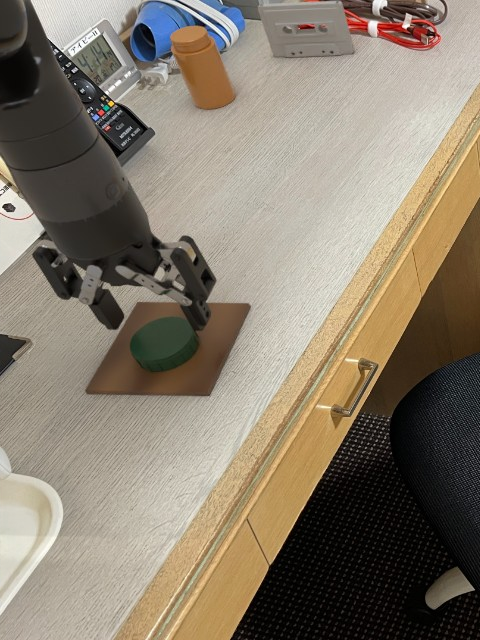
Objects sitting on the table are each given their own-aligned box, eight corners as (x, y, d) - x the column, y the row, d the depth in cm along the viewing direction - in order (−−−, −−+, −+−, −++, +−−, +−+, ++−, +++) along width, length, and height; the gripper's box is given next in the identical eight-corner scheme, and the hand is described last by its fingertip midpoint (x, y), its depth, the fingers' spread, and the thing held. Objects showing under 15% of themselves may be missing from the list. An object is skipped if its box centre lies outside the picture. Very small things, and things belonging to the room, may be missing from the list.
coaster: (86, 393, 78) (84, 390, 78) (139, 305, 87) (137, 301, 86) (209, 395, 78) (207, 392, 78) (250, 306, 86) (249, 302, 86)
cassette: (355, 49, 123) (342, -2, 117) (353, 55, 122) (340, 4, 116) (275, 52, 123) (258, 2, 117) (272, 58, 122) (255, 8, 116)
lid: (127, 372, 80) (118, 360, 78) (150, 328, 84) (143, 316, 82) (186, 372, 79) (179, 360, 78) (207, 328, 83) (201, 316, 82)
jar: (189, 110, 112) (160, 45, 105) (199, 89, 116) (172, 24, 109) (230, 108, 113) (204, 42, 106) (239, 86, 116) (215, 22, 109)
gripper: (179, 164, 71) (243, 298, 83) (19, 163, 71) (105, 296, 83) (144, 220, 66) (217, 354, 78) (-29, 218, 66) (70, 352, 78)
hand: (159, 324), depth 80 cm, fingers open, 8 cm apart
